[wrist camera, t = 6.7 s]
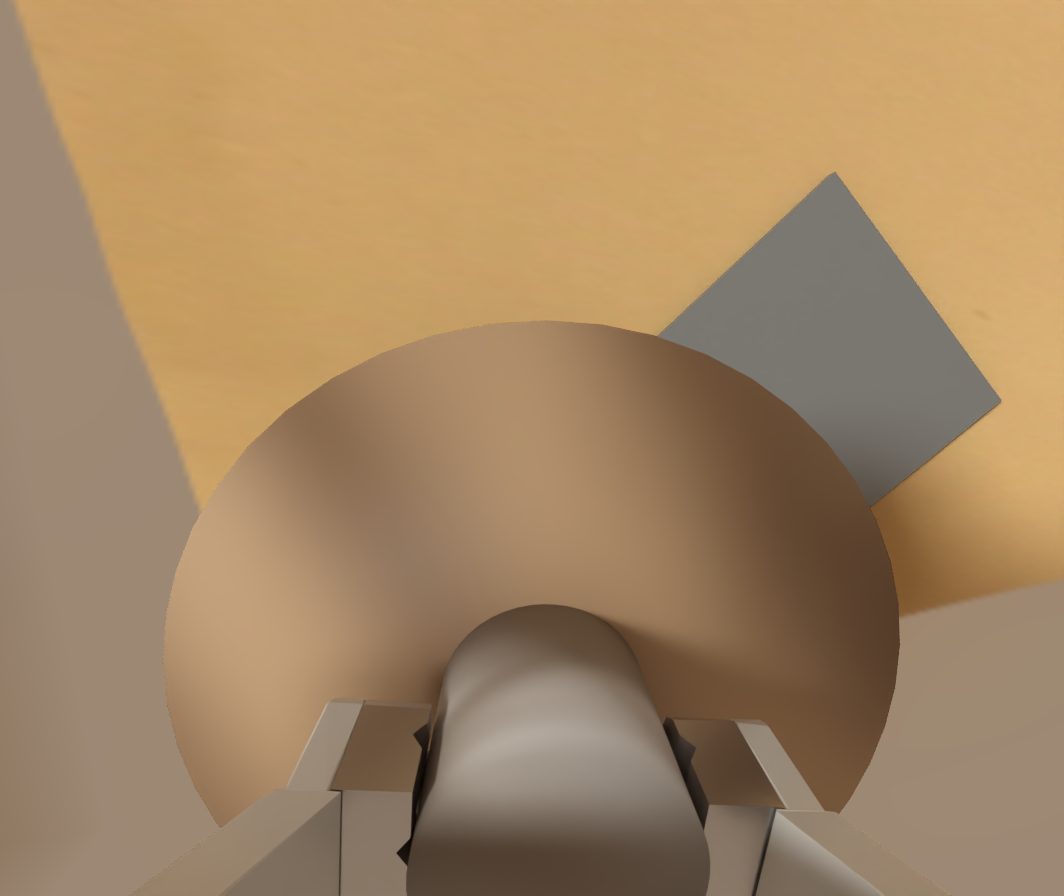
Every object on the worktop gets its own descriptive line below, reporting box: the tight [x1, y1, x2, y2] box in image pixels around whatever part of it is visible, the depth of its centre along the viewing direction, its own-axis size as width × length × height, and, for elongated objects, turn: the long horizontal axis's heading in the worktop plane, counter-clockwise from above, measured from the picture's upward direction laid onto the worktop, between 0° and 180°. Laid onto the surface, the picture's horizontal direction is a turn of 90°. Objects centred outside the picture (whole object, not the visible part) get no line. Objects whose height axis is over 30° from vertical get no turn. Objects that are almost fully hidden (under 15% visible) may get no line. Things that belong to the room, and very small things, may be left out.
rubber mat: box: [657, 172, 1001, 508], centre depth 29 cm, size 16×16×1 cm
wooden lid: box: [163, 321, 900, 896], centre depth 8 cm, size 13×13×4 cm
